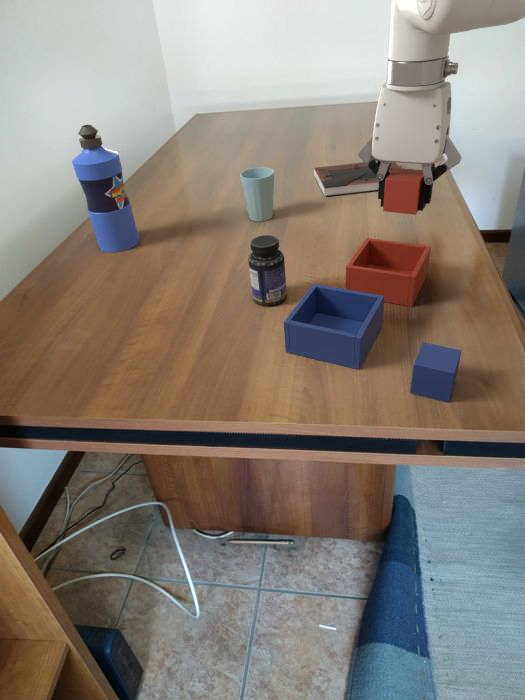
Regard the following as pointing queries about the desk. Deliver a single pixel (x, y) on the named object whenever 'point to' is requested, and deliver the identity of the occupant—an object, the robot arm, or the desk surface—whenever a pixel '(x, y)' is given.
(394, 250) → the red bin
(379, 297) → the blue bin
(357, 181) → the hardcover book
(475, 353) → the desk surface
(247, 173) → the cup
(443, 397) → the blue block
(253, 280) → the pill bottle
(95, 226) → the water bottle
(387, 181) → the red block
